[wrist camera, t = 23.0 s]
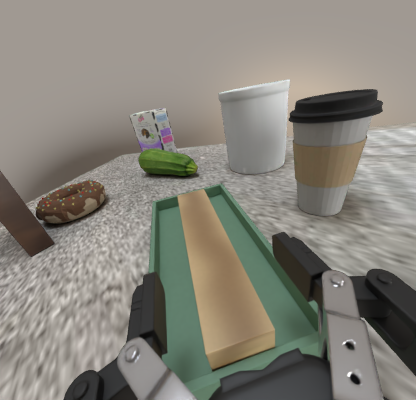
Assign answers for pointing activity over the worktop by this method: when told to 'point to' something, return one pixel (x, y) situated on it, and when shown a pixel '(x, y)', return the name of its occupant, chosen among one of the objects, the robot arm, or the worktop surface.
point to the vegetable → (166, 162)
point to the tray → (186, 302)
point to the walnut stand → (21, 220)
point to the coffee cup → (330, 146)
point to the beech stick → (222, 288)
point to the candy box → (153, 130)
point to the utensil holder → (256, 126)
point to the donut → (71, 202)
